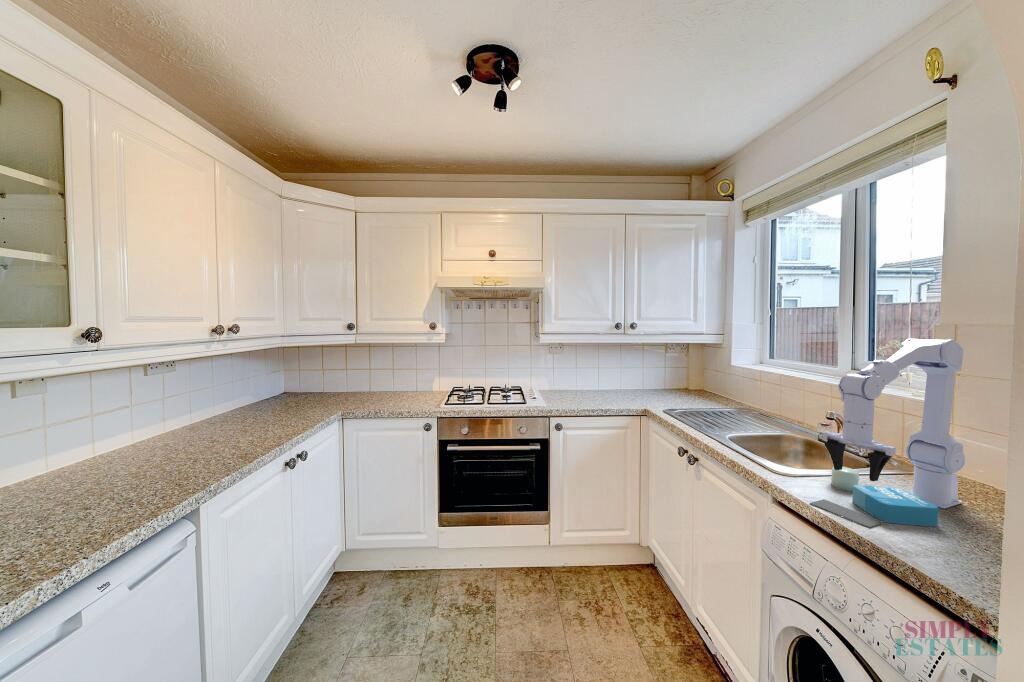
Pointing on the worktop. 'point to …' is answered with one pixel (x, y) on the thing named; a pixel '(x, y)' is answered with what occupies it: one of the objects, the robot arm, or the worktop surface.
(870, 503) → the data package
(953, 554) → the worktop surface
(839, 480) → the mint green soap bar
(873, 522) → the rubber mat
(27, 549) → the worktop surface
